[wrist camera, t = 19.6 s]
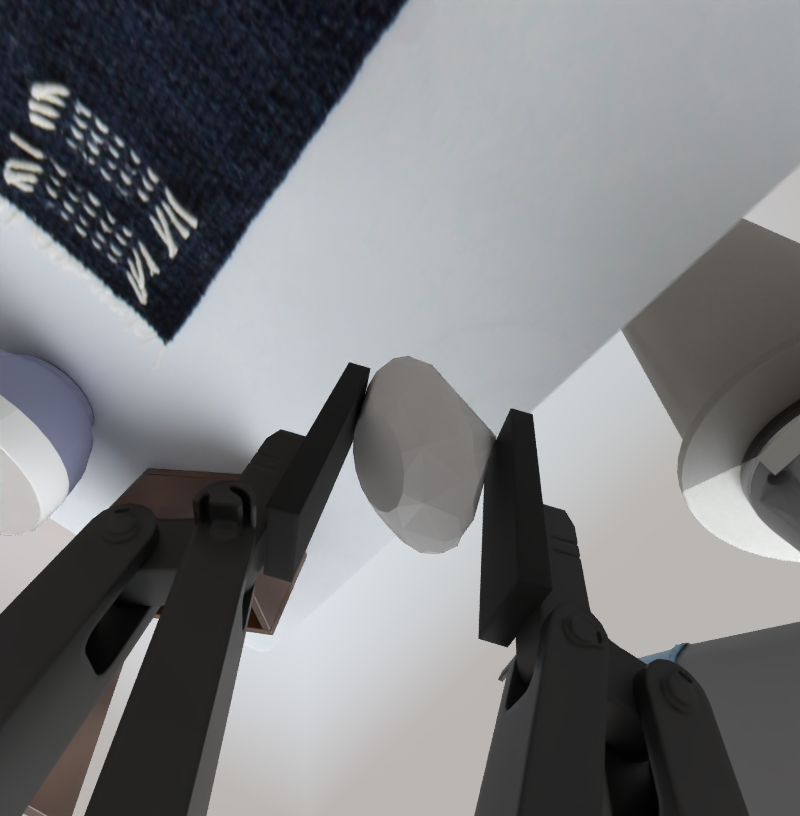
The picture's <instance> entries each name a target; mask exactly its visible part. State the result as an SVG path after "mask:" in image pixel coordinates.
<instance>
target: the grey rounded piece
mask: <svg viewBox="0 0 800 816" xmlns="http://www.w3.org/2000/svg"><path fill="white" fill-rule="evenodd" d="M496 438H497V437H496V436H495V435H494V434H493V433H492V431H491V430H490V429H489V428H488V427H487V426H486V425H485V424H484V422H483V421H482V420H481V419H480V418H479V417H478V416H477V415H476V414H475V412H474V411H473V410H472V409H471V408H470V407H469V406H468V405H467V403H466V402H465V401H464V400H463V399H462V398H461V397H460V396H459V394H458V393H457V392H456V391H455V390H454V389H453V388H452V387H451V386H450V384H449V383H448V382H447V381H446V380H445V379H444V378H443V377H442V375H441V374H440V373H439V372H438V371H437V370H436V369H435V368H434V367H433V365H431V364H428V363H425V362H422V361H419V360H416V359H414V358H412V357H409V356H406V357H400V358H394V359H392V360H391V361H390V362H388V363H387V364H386V365H384V366H383V367H382V368H381V369H379V370H378V371H377V372H376V373H375V375H374V377H373V379H372V380H371V382H370V384H369V385H368V388H367V391H366V394H365V397H364V400H363V404H362V407H361V410H360V413H359V416H358V420H357V423H356V427H355V432H354V443H353V455H354V462H355V469H356V473H357V476H358V479H359V482H360V485H361V488H362V490H363V491H364V493H365V495H366V497H367V499H368V500H369V502H370V504H371V505H372V507H373V508H374V510H375V511H376V513H377V514H378V515H379V516H380V517H381V519H382V520H383V521H384V522H385V524H386V525H387V526H388V527H389V528H390V529H391V530H392V531H393V532H394V533H395V534H396V535H397V536H398V537H399V539H401V540H402V541H403V542H404V543H405V544H407V545H409V546H410V547H412V548H413V549H415V550H417V551H418V552H420V553H429V554H430V553H431V554H440V553H444V552H446V551H448V550H450V549H452V548H454V547H456V546H458V543H459V541H460V539H461V537H462V535H463V534H464V532H465V531H466V530H467V528H468V527H469V525H470V524H471V523H472V521H473V520H474V516H475V513H476V509H477V506H478V502H479V499H480V495H481V491H482V488H483V484H484V481H485V477H486V473H487V470H488V466H489V463H490V459H491V455H492V452H493V448H494V445H495V441H496Z"/></svg>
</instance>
